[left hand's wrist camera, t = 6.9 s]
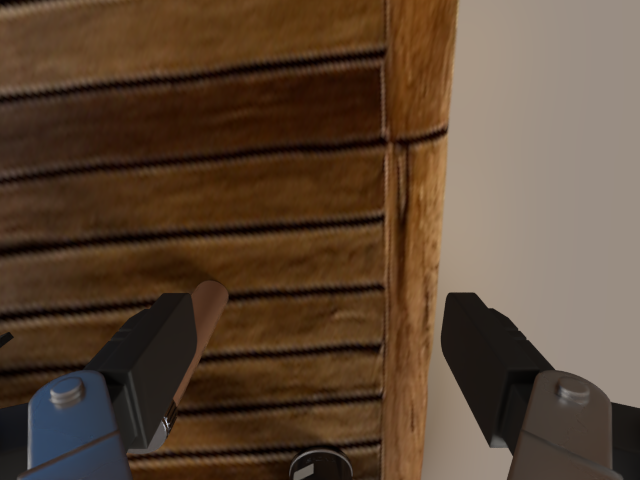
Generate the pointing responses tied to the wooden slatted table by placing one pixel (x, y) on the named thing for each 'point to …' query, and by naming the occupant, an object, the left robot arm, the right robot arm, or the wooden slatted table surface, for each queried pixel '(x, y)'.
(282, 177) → the wooden slatted table surface
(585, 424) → the left robot arm
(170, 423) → the lid
